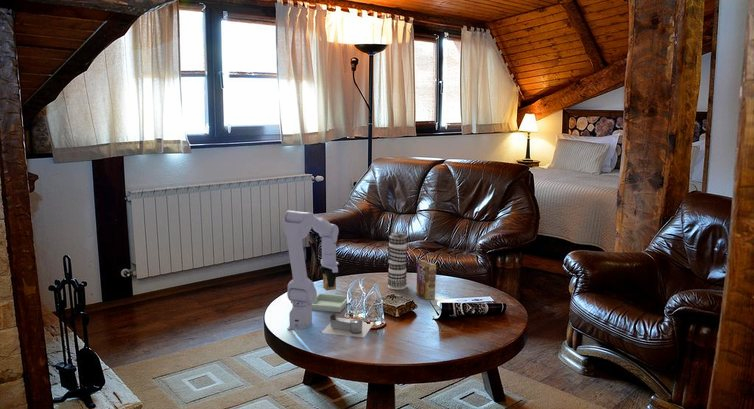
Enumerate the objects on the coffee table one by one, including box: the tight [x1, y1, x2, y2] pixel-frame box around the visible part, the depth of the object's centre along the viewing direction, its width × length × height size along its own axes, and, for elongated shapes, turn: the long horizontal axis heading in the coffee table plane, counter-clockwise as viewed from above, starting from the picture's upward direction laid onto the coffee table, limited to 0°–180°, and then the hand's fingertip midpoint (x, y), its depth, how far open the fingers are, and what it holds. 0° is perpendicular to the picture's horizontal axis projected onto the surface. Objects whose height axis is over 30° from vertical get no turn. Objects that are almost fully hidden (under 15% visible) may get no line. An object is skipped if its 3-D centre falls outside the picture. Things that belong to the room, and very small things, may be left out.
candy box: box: [415, 259, 437, 301], centre depth 259 cm, size 9×4×15 cm, turn 31°
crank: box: [329, 312, 363, 334], centre depth 219 cm, size 13×4×5 cm, turn 66°
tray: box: [312, 293, 348, 313], centre depth 246 cm, size 14×14×3 cm
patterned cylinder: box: [387, 231, 409, 291], centre depth 272 cm, size 9×9×25 cm
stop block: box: [322, 273, 337, 291], centre depth 245 cm, size 4×4×6 cm
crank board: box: [321, 316, 374, 339], centre depth 223 cm, size 16×16×1 cm
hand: (329, 285), depth 245 cm, fingers closed on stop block, 4 cm apart
